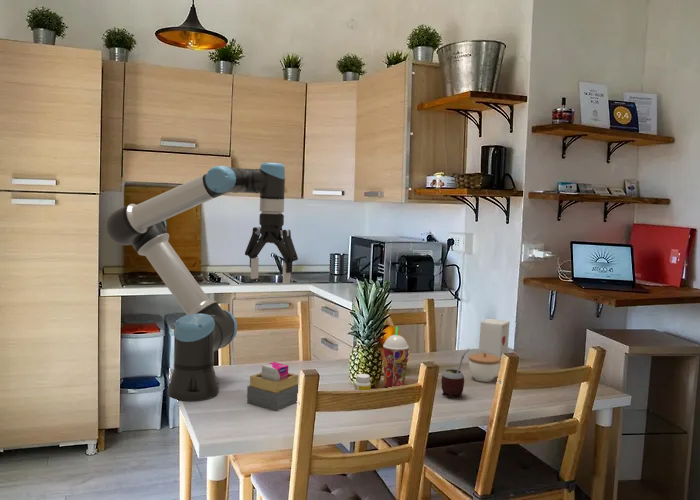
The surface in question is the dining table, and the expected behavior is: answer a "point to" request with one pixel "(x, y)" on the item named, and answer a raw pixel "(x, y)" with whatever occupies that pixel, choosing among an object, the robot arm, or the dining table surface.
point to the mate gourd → (453, 381)
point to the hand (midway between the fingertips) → (270, 280)
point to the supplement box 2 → (494, 337)
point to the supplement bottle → (362, 382)
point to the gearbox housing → (272, 392)
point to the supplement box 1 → (274, 371)
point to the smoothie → (395, 360)
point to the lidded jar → (484, 366)
